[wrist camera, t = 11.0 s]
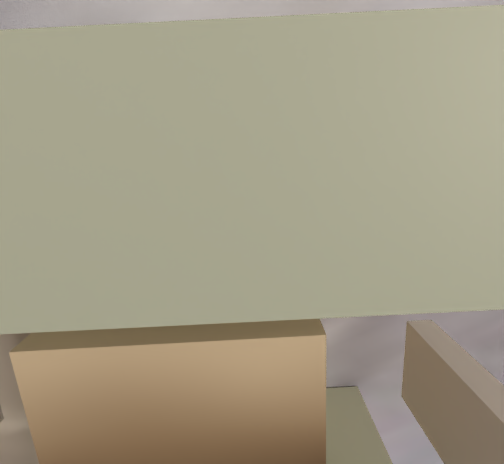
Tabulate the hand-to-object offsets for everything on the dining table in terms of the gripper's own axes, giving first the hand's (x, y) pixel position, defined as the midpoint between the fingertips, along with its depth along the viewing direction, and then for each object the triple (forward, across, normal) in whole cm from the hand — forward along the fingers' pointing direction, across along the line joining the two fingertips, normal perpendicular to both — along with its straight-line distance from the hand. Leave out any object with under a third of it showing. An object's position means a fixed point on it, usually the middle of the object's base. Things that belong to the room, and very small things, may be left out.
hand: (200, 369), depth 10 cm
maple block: (+4, 0, 0) cm, 4 cm away
